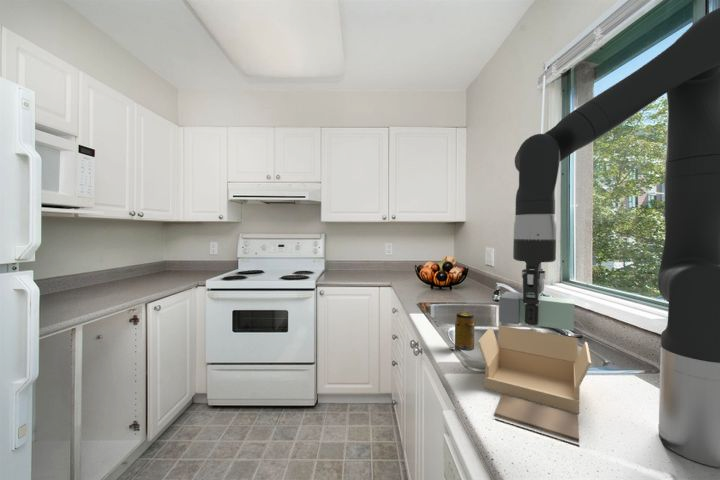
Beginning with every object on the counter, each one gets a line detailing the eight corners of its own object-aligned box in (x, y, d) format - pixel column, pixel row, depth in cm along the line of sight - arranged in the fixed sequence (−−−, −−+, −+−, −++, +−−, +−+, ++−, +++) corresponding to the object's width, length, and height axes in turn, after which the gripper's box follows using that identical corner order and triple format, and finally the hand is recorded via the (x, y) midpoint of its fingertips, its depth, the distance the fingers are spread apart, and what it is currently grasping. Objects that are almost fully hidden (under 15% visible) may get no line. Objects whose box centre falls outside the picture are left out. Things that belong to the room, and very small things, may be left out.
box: (573, 322, 62) (573, 298, 62) (573, 333, 56) (574, 305, 56) (505, 313, 69) (505, 291, 69) (499, 321, 63) (499, 297, 63)
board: (577, 421, 62) (577, 414, 62) (578, 447, 55) (579, 438, 55) (502, 400, 70) (502, 394, 70) (494, 420, 63) (494, 412, 63)
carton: (585, 385, 78) (586, 339, 78) (590, 421, 63) (591, 364, 62) (491, 363, 90) (492, 324, 90) (475, 389, 75) (476, 341, 75)
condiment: (463, 345, 106) (464, 310, 105) (484, 353, 98) (485, 316, 98) (448, 349, 102) (448, 313, 102) (468, 358, 95) (469, 319, 95)
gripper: (554, 238, 54) (553, 333, 55) (557, 237, 66) (555, 316, 67) (508, 237, 59) (506, 326, 59) (518, 237, 71) (516, 311, 71)
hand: (532, 320), depth 63 cm, fingers closed on box, 5 cm apart
